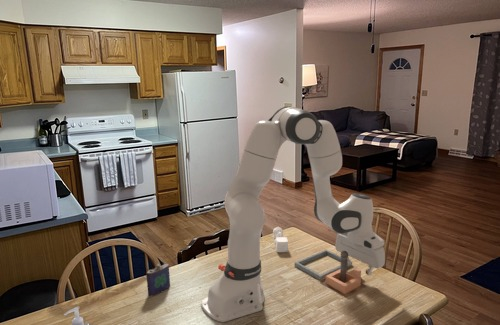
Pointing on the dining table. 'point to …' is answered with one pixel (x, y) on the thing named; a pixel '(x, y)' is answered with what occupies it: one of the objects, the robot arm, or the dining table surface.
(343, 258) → the post
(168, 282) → the flask
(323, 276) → the grey rectangular frame
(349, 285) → the ring
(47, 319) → the dining table surface
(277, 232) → the container set
